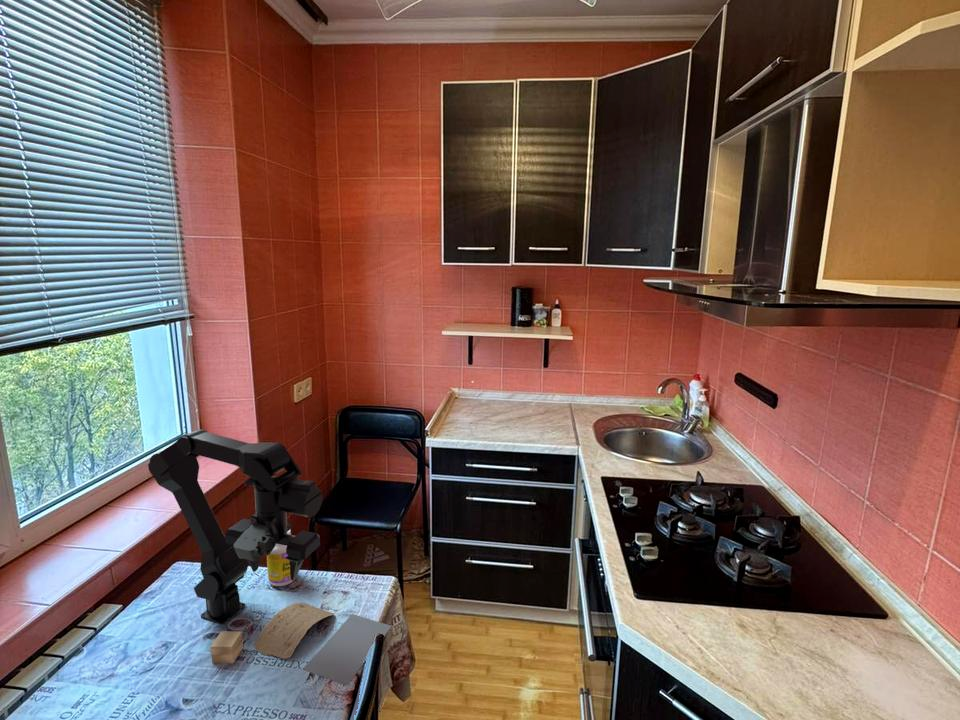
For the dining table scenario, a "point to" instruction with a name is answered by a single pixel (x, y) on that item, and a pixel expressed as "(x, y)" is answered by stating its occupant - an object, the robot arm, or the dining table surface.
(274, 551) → the supplement bottle
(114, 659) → the dining table surface
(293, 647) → the clay tablet
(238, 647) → the oak block
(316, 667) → the slate mat
